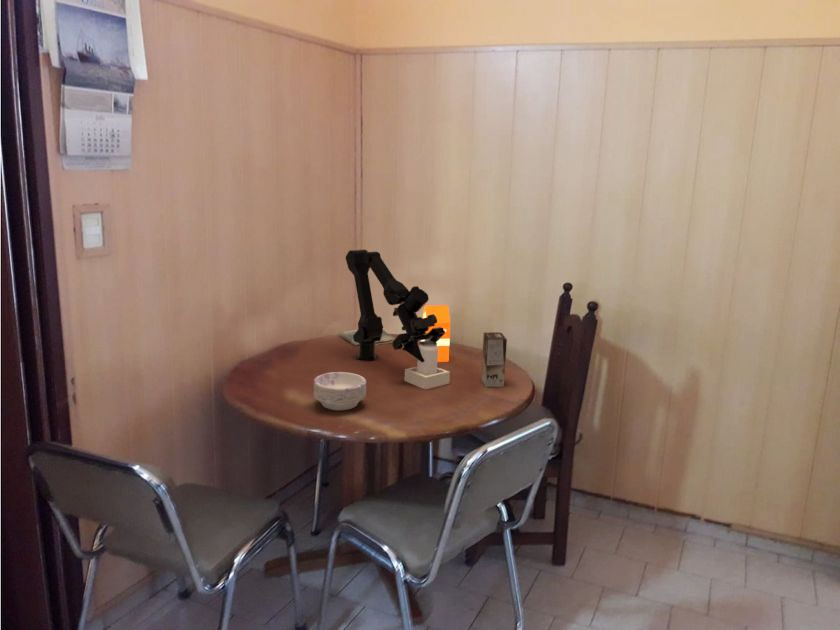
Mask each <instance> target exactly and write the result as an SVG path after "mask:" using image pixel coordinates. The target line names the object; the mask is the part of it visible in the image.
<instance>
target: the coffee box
mask: <svg viewBox="0 0 840 630" xmlns="http://www.w3.org/2000/svg"><path fill="white" fill-rule="evenodd" d="M482 335H483V338H482V356H481V374H480V379H481V382H482V383H483V385H484V387H486V388H497V387H498V388H504V386H505V385H504V384H505V374H506V359H507V358H506V356H507V346H508V345H507V343H508V340H507V338H506V337H505V335H504V334H503V333H502V332H494V331H491V332H483V334H482Z"/></svg>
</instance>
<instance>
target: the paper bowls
mask: <svg viewBox="0 0 840 630" xmlns="http://www.w3.org/2000/svg"><path fill="white" fill-rule="evenodd" d="M366 396H367V379H366V378H365V377H364V376H362V375H360V374H356V373H353V372H349V371H348V372H345V371H335V372H334V371H332V372H326V373H322V374H320V375H317V376H316V377H315V378H314V379H313V397H314V399H315V400H317V401H318V402H320V403H321V406H323V407H324V408H325V409H328V410H331V411H339V412H342V411H348V410H352V409H354V408H356V407H357V406H358V404H359V402H361V401H363V400H364V399H365V398H366Z"/></svg>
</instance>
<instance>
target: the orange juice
mask: <svg viewBox="0 0 840 630" xmlns="http://www.w3.org/2000/svg"><path fill="white" fill-rule="evenodd" d="M431 314H434V315H435V316H436V318H437V323H436V324H435V326H434V327H433V326H432V327H429V330H428V331H426V333H429V332H430V331H431V330H432V328H437V327H442V328H443V329H444V331H445V334H444V335H443V336H442V337H441V338H440V339H439V340H438V341H437V342H436V343H437V347H438V363H445V362H449V359H450V358H449V357H450V342H451V340H450V339H451V338H450V337H451V318H450V311H449V305H448V304H442V305H440V304H439V305H437V304H436V305H424V309H423V313H422V315H421V318H427V316H428V315H431ZM422 341H425V340H420V342H422Z"/></svg>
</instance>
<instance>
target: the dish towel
mask: <svg viewBox="0 0 840 630" xmlns="http://www.w3.org/2000/svg"><path fill="white" fill-rule="evenodd" d="M357 330H358V329H354V330H347V331H342V332H339V334H338V336H339V337H340V338H341V337H342V338H341V339H343V340H344V339H345V340H344V341H346V342H347V341H348V342H347V343H349V342H350V343H351V344H350V343H349V344H350V345H352V344H353V345H352V346H354V347H356V348H359V347H358V346H359V343H357V342H354V338H353V335H354V334H355V333H356V331H357ZM395 338H396V337H394V336H392V335H391V334H390V333H388V332H386V330H384V329H383V333H382V336H381V340H380V341H375V346H380V345H379V344H382V345H389V343H391V344H392V343H393V341H394V339H395Z"/></svg>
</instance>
